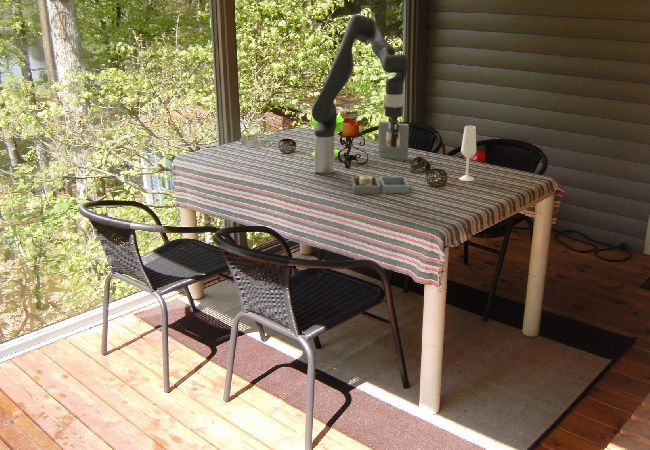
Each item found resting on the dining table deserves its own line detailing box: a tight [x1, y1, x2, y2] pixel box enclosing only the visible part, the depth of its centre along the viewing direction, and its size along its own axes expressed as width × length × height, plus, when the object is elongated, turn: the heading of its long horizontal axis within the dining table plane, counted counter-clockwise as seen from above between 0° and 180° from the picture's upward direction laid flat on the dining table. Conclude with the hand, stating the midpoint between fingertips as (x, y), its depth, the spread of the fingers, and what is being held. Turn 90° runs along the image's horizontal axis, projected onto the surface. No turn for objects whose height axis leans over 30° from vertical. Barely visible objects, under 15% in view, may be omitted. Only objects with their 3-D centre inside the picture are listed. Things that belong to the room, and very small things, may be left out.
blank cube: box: [358, 175, 372, 186], centre depth 316 cm, size 5×5×5 cm
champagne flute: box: [458, 125, 477, 182], centre depth 328 cm, size 7×7×24 cm
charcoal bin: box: [351, 176, 381, 195], centre depth 317 cm, size 11×14×4 cm
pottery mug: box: [409, 155, 432, 172], centre depth 344 cm, size 12×10×8 cm
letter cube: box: [386, 132, 400, 147], centre depth 304 cm, size 5×5×5 cm
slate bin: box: [379, 176, 410, 194], centre depth 317 cm, size 11×14×4 cm
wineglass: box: [311, 116, 345, 159], centre depth 370 cm, size 16×16×18 cm
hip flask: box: [377, 120, 410, 161], centre depth 364 cm, size 16×4×20 cm, turn 60°
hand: (392, 144), depth 305 cm, fingers closed on letter cube, 5 cm apart
